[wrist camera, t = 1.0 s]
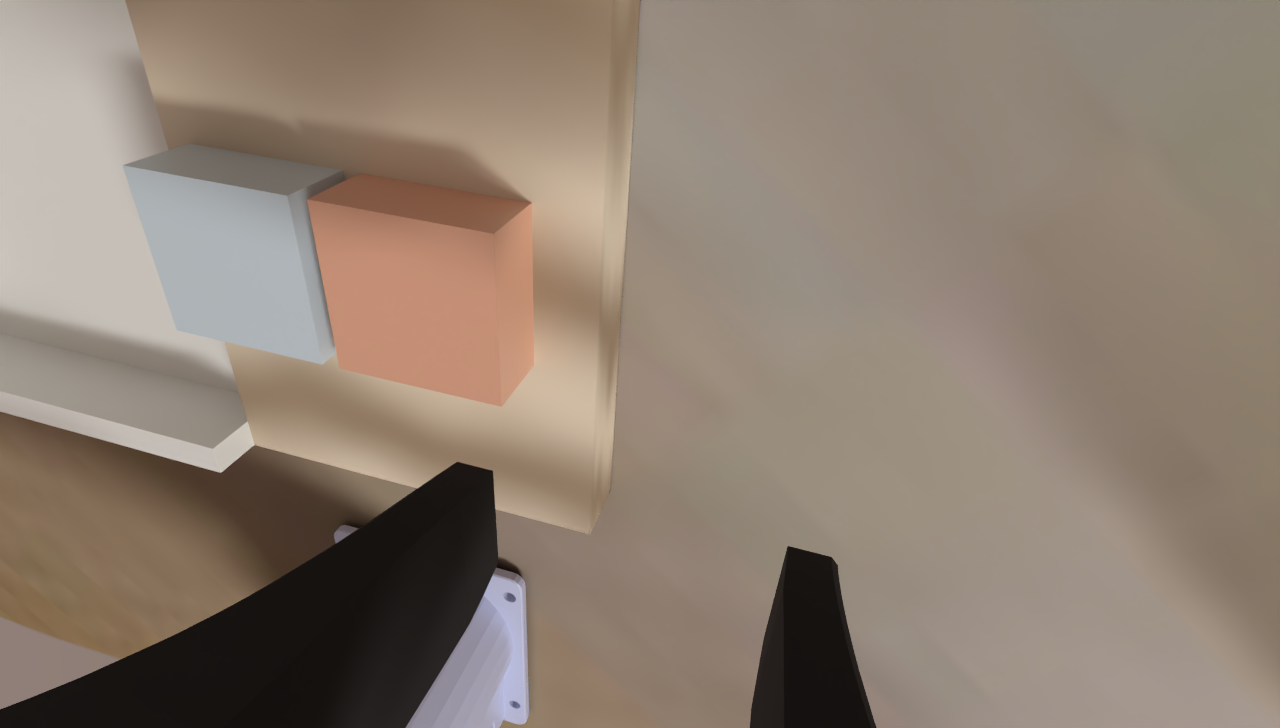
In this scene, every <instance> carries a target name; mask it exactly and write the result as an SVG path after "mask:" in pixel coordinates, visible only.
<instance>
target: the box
mask: <svg viewBox="0 0 1280 728" xmlns="http://www.w3.org/2000/svg"><path fill="white" fill-rule="evenodd" d="M165 151H168V146H167V143H166V139H165V136H164V132H163V129H162V126H161V122H160V119H159V115H158V112H157V108H156V105H155V101H154V98H153V95H152V91H151V88H150V84H149V81H148V77H147V74H146V71H145V67H144V64H143V60H142V57H141V53H140V50H139V46H138V43H137V40H136V36H135V33H134V29H133V26H132V22H131V19H130V16H129V12H128V9H127V5H126V2H125V0H0V412H4V413H8V414H11V415H15V416H18V417H22V418H26V419H29V420H33V421H36V422H40V423H44V424H47V425H51V426H54V427H58V428H61V429H65V430H69V431H72V432H76V433H79V434H83V435H87V436H90V437H94V438H97V439H101V440H105V441H108V442H112V443H115V444H119V445H122V446H126V447H130V448H133V449H137V450H140V451H144V452H148V453H151V454H155V455H158V456H162V457H166V458H169V459H173V460H176V461H180V462H183V463H187V464H191V465H194V466H198V467H201V468H205V469H209V470H212V471H216V472H219V473H221V472H223V471H224V470H225V469H226V468H227V467H229V466H230V465H231V464H232V463H233V462H235V461H236V460H237V459H238V458H239V457H241V456H242V455H243V454H244V453H245V452H246V451H248V450H249V449H250V448H251V447H252V446H254V442H253V438H252V435H251V431H250V428H249V425H248V421H247V418H246V414H245V411H244V407H243V404H242V401H241V397H240V394H239V390H238V387H237V383H236V380H235V376H234V373H233V370H232V366H231V363H230V359H229V356H228V352H227V349H226V346H225V342H224V341H220V340H216V339H212V338H207V337H203V336H199V335H195V334H190V333H186V332H182V331H178V330H177V329H176V326H175V323H174V320H173V317H172V314H171V311H170V308H169V305H168V302H167V299H166V296H165V293H164V290H163V287H162V284H161V281H160V278H159V275H158V272H157V269H156V266H155V263H154V260H153V257H152V254H151V251H150V248H149V244H148V241H147V238H146V235H145V232H144V229H143V226H142V223H141V220H140V217H139V214H138V211H137V208H136V205H135V202H134V199H133V196H132V193H131V190H130V187H129V184H128V181H127V178H126V175H125V172H124V169H123V166H122V165H125V164H128V163H131V162H134V161H137V160H140V159H143V158H146V157H149V156H153V155H156V154H159V153H162V152H165Z"/></svg>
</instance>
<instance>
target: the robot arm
mask: <svg viewBox="0 0 1280 728" xmlns="http://www.w3.org/2000/svg"><path fill="white" fill-rule="evenodd" d="M334 539H335V544H334V545H333V546H331V547H330V548H328V549H327V550H325V551H324V552H322V553H320V554H319V555H317V556H315V557H314V558H312V559H311V560H309V561H307V562H306V563H304V564H302V565H301V566H299V567H297V568H296V569H294V570H292V571H291V572H289V573H287V574H286V575H284V576H282V577H281V578H279V579H277V580H276V581H274V582H273V583H271V584H269V585H268V586H266V587H264V588H262V589H261V590H259V591H257V592H255V593H253V594H252V595H250V596H248V597H246V598H245V599H243V600H241V601H239V602H237V603H236V604H234V605H232V606H230V607H228V608H226V609H224V610H223V611H221V612H219V613H217V614H215V615H213V616H211V617H209V618H207V619H205V620H203V621H201V622H199V623H197V624H195V625H193V626H192V627H190V628H188V629H186V630H184V631H182V632H180V633H178V634H175V635H173V636H171V637H169V638H167V639H165V640H163V641H161V642H158V643H156V644H154V645H152V646H150V647H147V648H145V649H143V650H141V651H139V652H136V653H134V654H132V655H130V656H127V657H125V658H123V659H121V660H119V661H116V662H114V663H112V664H110V665H108V666H105V667H103V668H101V669H99V670H97V671H94V672H92V673H90V674H88V675H85V676H83V677H81V678H78V679H76V680H74V681H71V682H69V683H66V684H64V685H61V686H59V687H56V688H54V689H52V690H49V691H46V692H44V693H42V694H39V695H37V696H34V697H32V698H30V699H27V700H24V701H21V702H19V703H16V704H14V705H11V706H8V707H6V708H3V709H1V710H0V728H500V726H501V724H502V721H503V720H506V721H509V722H512V723H515V724H524V723H526V720H527V718H528V716H529V694H528V659H527V624H526V588H525V582H524V580H523V579H522V577H521V576H519V575H518V574H516V573H514V572H510V571H507V570H503V569H500V568H496V567H497V564H498V547H497V530H496V513H495V495H494V478H493V471H492V470H488V469H484V468H480V467H476V466H472V465H468V464H465V463H461V462H456V463H454V464H453V465H451V466H450V467H448V468H447V469H445V470H444V471H442V472H441V473H439V474H438V475H436V476H435V477H433V478H432V479H430V480H429V481H428V482H426V483H425V484H423V485H422V486H420V487H419V488H417V489H416V490H415V491H413V492H412V493H410V494H409V495H407V496H406V497H404V498H403V499H402V500H400V501H399V502H397V503H396V504H394V505H393V506H391V507H390V508H388V509H387V510H386V511H384V512H383V513H381V514H380V515H378V516H377V517H375V518H374V519H372V520H371V521H369V522H368V523H366V524H365V525H363V526H362V527H360V528H355V527H352V526H348V525H342V526H340V527H339V528H338V529H337V530H336V532H335V533H334ZM750 728H876V725H875V722H874V719H873V716H872V712H871V709H870V706H869V702H868V699H867V696H866V692H865V689H864V686H863V682H862V679H861V676H860V672H859V669H858V665H857V661H856V658H855V654H854V650H853V646H852V642H851V637H850V633H849V629H848V625H847V620H846V616H845V611H844V606H843V601H842V595H841V589H840V582H839V575H838V565H837V564H836V563H835V561H834V560H833V558H832V557H829V556H825V555H821V554H817V553H813V552H809V551H805V550H801V549H797V548H793V547H790V546H788V547H787V551H786V555H785V559H784V563H783V567H782V570H781V574H780V578H779V582H778V586H777V590H776V594H775V597H774V601H773V605H772V609H771V613H770V617H769V621H768V624H767V628H766V632H765V636H764V641H763V646H762V652H761V657H760V663H759V669H758V674H757V680H756V685H755V691H754V697H753V702H752V709H751V721H750Z"/></svg>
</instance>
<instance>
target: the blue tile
mask: <svg viewBox="0 0 1280 728" xmlns="http://www.w3.org/2000/svg"><path fill="white" fill-rule="evenodd" d="M122 166H123V169H124V172H125V175H126V178H127V181H128V184H129V187H130V190H131V193H132V196H133V199H134V202H135V205H136V208H137V211H138V214H139V217H140V220H141V223H142V226H143V229H144V232H145V235H146V238H147V241H148V244H149V248H150V251H151V254H152V257H153V260H154V263H155V266H156V269H157V272H158V275H159V278H160V281H161V284H162V287H163V290H164V293H165V296H166V299H167V302H168V305H169V308H170V311H171V314H172V317H173V320H174V323H175V326H176V329H177V330H178V331H182V332H186V333H190V334H195V335H199V336H203V337H207V338H212V339H216V340H220V341H224V342H228V343H233V344H237V345H241V346H245V347H250V348H254V349H258V350H262V351H267V352H271V353H275V354H279V355H284V356H288V357H292V358H296V359H301V360H305V361H309V362H313V363H318V364H322V365H323V364H324V363H325V362H326V361H328V360H329V359H330V358H331V357H333V356H334V355H335V354H336V348H335V343H334V337H333V332H332V327H331V322H330V317H329V311H328V306H327V301H326V296H325V291H324V285H323V280H322V275H321V270H320V265H319V260H318V254H317V249H316V244H315V239H314V234H313V228H312V223H311V218H310V213H309V208H308V202H307V199H309V198H311V197H313V196H315V195H317V194H319V193H321V192H323V191H325V190H327V189H329V188H331V187H333V186H335V185H337V184H339V183H341V182H344V175H343V170H339V169H334V168H328V167H322V166H316V165H311V164H305V163H299V162H293V161H287V160H282V159H276V158H270V157H264V156H259V155H253V154H247V153H241V152H236V151H230V150H224V149H218V148H213V147H207V146H201V145H195V144H187V145H184V146H180V147H177V148H174V149H171V150H168V151H165V152H162V153H159V154H156V155H153V156H149V157H146V158H143V159H140V160H137V161H134V162H131V163H128V164H125V165H122Z"/></svg>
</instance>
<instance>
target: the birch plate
mask: <svg viewBox="0 0 1280 728" xmlns="http://www.w3.org/2000/svg"><path fill="white" fill-rule="evenodd" d="M125 2H126V5H127V9H128V12H129V16H130V19H131V22H132V26H133V29H134V33H135V36H136V40H137V43H138V46H139V50H140V53H141V57H142V60H143V64H144V67H145V71H146V74H147V77H148V81H149V84H150V88H151V91H152V95H153V98H154V101H155V105H156V108H157V112H158V115H159V119H160V122H161V126H162V129H163V132H164V136H165V139H166V143H167V146H168V150H171V149H174V148H177V147H180V146H184V145H187V144H195V145H201V146H207V147H213V148H218V149H224V150H230V151H236V152H241V153H247V154H253V155H259V156H264V157H270V158H276V159H282V160H287V161H293V162H299V163H305V164H311V165H316V166H322V167H328V168H334V169H339V170H343V175H344V181H346V180H348V179H350V178H352V177H354V176H356V175H358V174H360V173H362V174H368V175H374V176H380V177H386V178H391V179H397V180H403V181H409V182H414V183H420V184H426V185H432V186H437V187H443V188H449V189H455V190H461V191H466V192H472V193H478V194H484V195H489V196H495V197H501V198H507V199H512V200H518V201H524V202H530V203H532V248H533V316H534V366H533V367H532V369H531V370H530V371H529V372H528V374H527V375H526V376H525V378H524V379H523V380H522V381H521V383H520V384H519V385H518V387H517V388H516V389H515V390H514V392H513V393H512V394H511V396H510V397H509V398H508V399H507V401H506V402H505V403H504V405H503V406H502V407H500V406H496V405H492V404H487V403H483V402H479V401H475V400H470V399H466V398H462V397H458V396H453V395H449V394H445V393H441V392H436V391H432V390H428V389H424V388H419V387H415V386H411V385H407V384H402V383H398V382H394V381H390V380H385V379H381V378H377V377H373V376H368V375H364V374H360V373H356V372H352V371H347V370H343V369H340V368H339V363H338V358H337V353H336V354H335V355H334V356H333V357H331V358H330V359H329V360H328V361H326V362H325V363H324V364H323V365H322V364H318V363H313V362H309V361H305V360H301V359H296V358H292V357H288V356H284V355H279V354H275V353H271V352H267V351H262V350H258V349H254V348H250V347H245V346H241V345H237V344H233V343H228V342H225V346H226V349H227V352H228V356H229V359H230V363H231V366H232V370H233V373H234V376H235V380H236V383H237V387H238V390H239V394H240V397H241V401H242V404H243V407H244V411H245V414H246V418H247V421H248V425H249V428H250V431H251V435H252V438H253V442H254V445H257V446H260V447H264V448H268V449H272V450H275V451H279V452H283V453H287V454H290V455H294V456H298V457H302V458H305V459H309V460H313V461H317V462H320V463H324V464H328V465H332V466H336V467H339V468H343V469H347V470H351V471H354V472H358V473H362V474H366V475H369V476H373V477H377V478H381V479H384V480H388V481H392V482H396V483H399V484H403V485H407V486H411V487H414V488H419V487H420V486H422V485H423V484H425V483H426V482H428V481H429V480H430V479H432V478H433V477H435V476H436V475H438V474H439V473H441V472H442V471H444V470H445V469H447V468H448V467H450V466H451V465H453V464H454V463H456V462H461V463H465V464H468V465H472V466H476V467H480V468H484V469H488V470H492V471H493V478H494V495H495V509H497V510H501V511H504V512H508V513H512V514H516V515H519V516H523V517H527V518H531V519H534V520H538V521H542V522H546V523H549V524H553V525H557V526H561V527H564V528H568V529H572V530H576V531H579V532H583V533H587V534H590V533H591V531H592V529H593V527H594V524H595V522H596V520H597V518H598V516H599V514H600V512H601V510H602V508H603V505H604V503H605V501H606V499H607V497H608V495H609V493H610V485H611V469H612V453H613V437H614V420H615V404H616V388H617V372H618V356H619V339H620V323H621V307H622V291H623V274H624V258H625V242H626V226H627V209H628V193H629V177H630V161H631V145H632V128H633V112H634V96H635V80H636V63H637V47H638V31H639V15H640V0H125Z"/></svg>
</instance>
